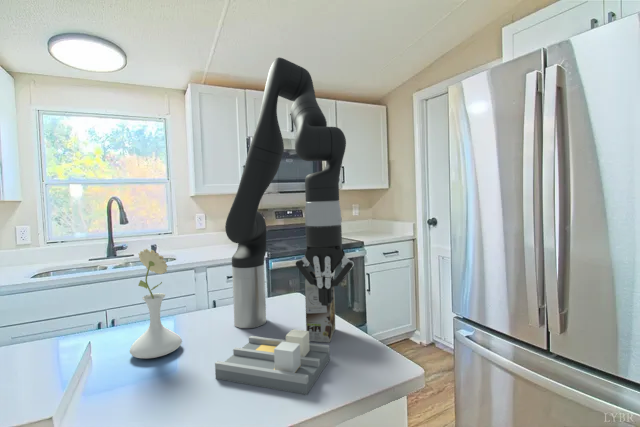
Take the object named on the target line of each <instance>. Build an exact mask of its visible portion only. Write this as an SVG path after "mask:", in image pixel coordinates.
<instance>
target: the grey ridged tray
mask: <svg viewBox="0 0 640 427" xmlns="http://www.w3.org/2000/svg"><path fill="white" fill-rule="evenodd" d="M281 342H286V339H281V338H280V339H279V338H270V337H262V336H255V335H250V336H249V337H248V342H247V343H245V344H244V346H242V347H237V346H236V347H234V348H233V350H232V351H233V354H232V355H231V356H229V357H228V358H227V359H226V360H225V361H223V360H222V361H221V360H217V361H216V362H214V371H215V374H214V375H215V379H217V380H223V381H229V382H234V383H238V384H244V385H245V384H246V385H250V386H256V387H261V388H266V389H273V390H278V391H285V392H289V393H295V394H301V395H307V396H308V394H309V392H310V391H311V389H312V387H313V386H314V385H315V383H316V382H317V380H318V378H319V377H320V375H321V373H322V372H323V371H324V369H325V367H326V366H327V365H328V363H329V361H330V360H331V357H330V355H331V354H330V345H328V344H321V343H320V344H319V343H311V342H309V347H310V351H309V352H308V353H307V354H306V356H305V357H302V356H300V361H301V365H300V366H299V368H298V369H297V370H296V371H295V373H292V372H286V371H280V370H275V361H274V349H275V348H276V347H277V346H278V345H279V344H280V343H281Z"/></svg>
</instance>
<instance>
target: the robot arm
mask: <svg viewBox="0 0 640 427" xmlns="http://www.w3.org/2000/svg"><path fill="white" fill-rule="evenodd" d="M311 75H312V74H311V73H310V72H309V71H308V69H306V68H304V67H302V66H301V65H298V64H296V63H294V62H292V61H289V60H288V59H285V58H282V57H276V58H275V59H274V60H273V62H272V63H271V66H270V68H269V70H268V74H267V78H266V83H265V87H264V92H263V96H262V100H261V105H260V111H259V114H258V118H257V122H256V126H255V128H254V129H255V130H254V131H253V135H252V138H251V141H250V144H249V149H248V152H247V155H246V159H245V160H246V161H245V164H244V167H243V171H242V174H241V178H240V180H239V184H238V188H237V192H236V194H235V197H234V199H233V202H232V205H231V207H230V209H229V212H228V214H227V217H226V220H225V225H224V226H225V228H224V229H225V234H226V236H227V238H228V240H230V241H231V242H232V243H234V244H237V249H236V251H235V252H234V254H233V255H232V257H231V274H232V275H231V276H232V278H231V279H232V295H233V296H232V298H233V320H234V321H233V323H234V326H235V327H237V328H240V329H253V328H257V327H261V326H263V325H265V324H266V323H267V304H266V301H267V299H266V278H265V256H266V254H267V224H266V220H265V218H264V216H263V214H262V213H261V212H260V211H259V207H260V203H261V200H262V198H263V196H264V194H265V192H266V191H267V189H268V188H269V187H270V185H271V184H272V181H274V180H275V177H276V175H277V174H278V171H279V168H280V164H281V162H282V158H283V155H284V151H285V150H284V149H285V144H284V140H283V136H282V135H283V134H282V132H281V128H280V124H279V120H278V102H279V97H281V98H283V99H286V100H288V101H290V102H293V103H292V104H291V107H290V117H291V120H292V123H293V126H294V128H295V132H296V134H295V140H294V150H295V153H296V155H297V156H298V158H300V159H301V160H303V161H305V162H306V161H307V162H326V165H325V166H324V169H323V170H320V171H316V172H312V173H309V174H307V175H306V176H305V179H304V188H305V191H304V192H305V195H304V196H305V208H304V209H305V210H304V220H305V221H304V223H305V225H304V226H305V245H306V249H305V251H304V255H303V257H302V258H301V259H299V260H297V261H296V262H295V266H296V267H297V269H298V270H299V271H300V273H301V274H302V275H303V277H304V278H306V279H307V281H308V282H309V283H310V284H311V285H315V286H317V287H318V295H319V302H320V303H321V305H322V306H329V305H330V304H331V302H332V301H333V287H334V288H335V287H338V286H339V285H340V284H341V283H342V282H343V281H344V279H345V278H346V277H347V275H348V274H349V273H350V272H351V270H352V269H353V267H354V266H355V264H356V263H355V261H354V260H352V259H351V260H350V259H349V258H348V257H346V256H345V255H346V254H345V251H344V249H343V237H342V236H343V235H342V233H343V232H342V229H343V228H342V222H343V221H342V210H341V205H340V191H339V190H340V184H339V183H340V175H341V169H342V164H343V160H344V155H345V152H346V147H347V139H346V135H345V134H344V132H343V130H342V129H341V128H339V127H338V126H337V127H336V126H328V124H327V123H328V121H327V119H326V116H325V114H324V113H323V110H322V109H321V107H320V105H319V103H318V101H317V97H316V92H315V88H314V83H313V78H312V76H311ZM341 263H342V264H341ZM340 264H341V265H340ZM339 265H340V266H341V269H342V270H341V271H340V272H339V274H337V276H336V278H335V272H336V270H337V268H338V267H339ZM311 267H312V268H311ZM312 269H313V270H314V271H313V270H312ZM314 272H315V274H314Z"/></svg>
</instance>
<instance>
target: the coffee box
mask: <svg viewBox="0 0 640 427" xmlns="http://www.w3.org/2000/svg"><path fill="white" fill-rule="evenodd" d="M313 272H314V274H315V271H313ZM304 278H305V277H304ZM304 286H305V287H304V291H305V292H304V295H305V331H309V342H318V343H319V342H320V343H330V342H331V340H332V338H333V336H334V333H335V331H336V305H335V304H336V303H335V302H336V300H335V297H336V296H335V286H334V287H333V301H332V302H331V304H330V305H329V306H322V305H321V303H320V302H319V295H318V287H317V286H315V285H311V284H310V283H309V282H308V281H307V279H306V278H305V279H304Z"/></svg>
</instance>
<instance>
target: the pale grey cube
mask: <svg viewBox="0 0 640 427" xmlns="http://www.w3.org/2000/svg"><path fill="white" fill-rule="evenodd" d="M274 361H275V370H280V371H286V372H292V373H295V371H296V370H297V369H298V368H299V366H300V365H301V361H300V344H298V343H290V342H281V343H280V344H279V345H278V346H277V347H276V348H275V349H274Z"/></svg>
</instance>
